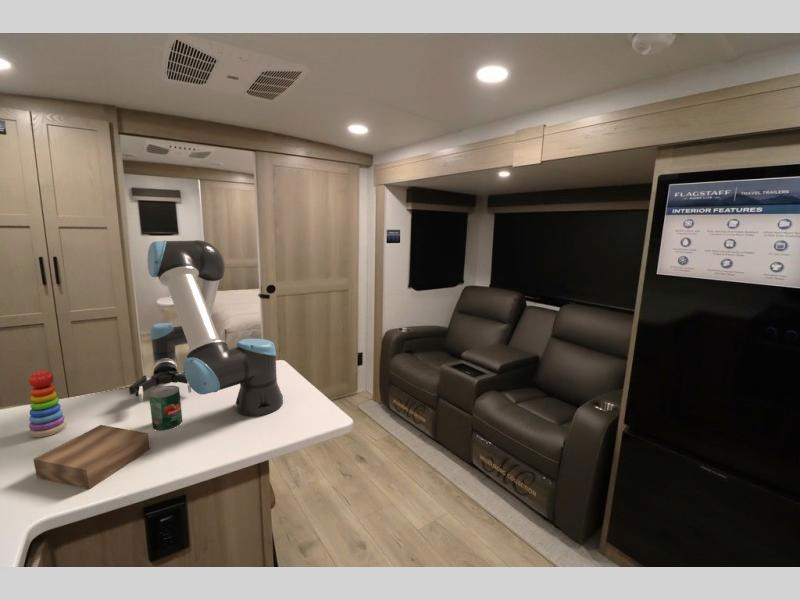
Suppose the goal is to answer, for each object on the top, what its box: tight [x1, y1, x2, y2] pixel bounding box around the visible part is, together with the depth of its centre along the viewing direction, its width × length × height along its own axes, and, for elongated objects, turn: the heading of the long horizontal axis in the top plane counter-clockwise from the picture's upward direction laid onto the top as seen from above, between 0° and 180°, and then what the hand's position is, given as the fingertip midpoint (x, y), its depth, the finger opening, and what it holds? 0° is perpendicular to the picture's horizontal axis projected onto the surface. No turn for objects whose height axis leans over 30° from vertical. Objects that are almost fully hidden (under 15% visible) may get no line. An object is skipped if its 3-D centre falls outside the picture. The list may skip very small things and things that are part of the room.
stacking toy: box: [28, 369, 67, 438], centre depth 106 cm, size 8×8×19 cm
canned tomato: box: [148, 385, 183, 432], centre depth 112 cm, size 8×8×11 cm
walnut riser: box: [33, 424, 151, 490], centre depth 94 cm, size 16×16×5 cm
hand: (165, 393), depth 120 cm, fingers open, 13 cm apart
